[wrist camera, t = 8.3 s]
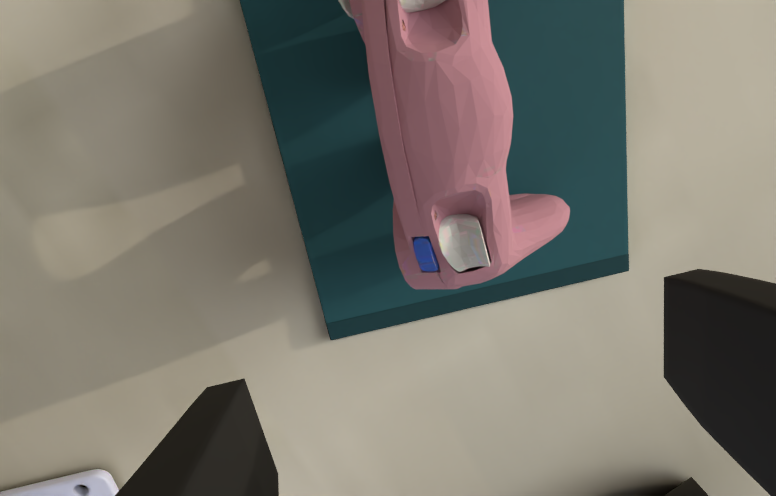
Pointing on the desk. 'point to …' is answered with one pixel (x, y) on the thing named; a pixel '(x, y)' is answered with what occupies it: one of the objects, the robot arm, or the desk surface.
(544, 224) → the video game controller
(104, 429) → the desk surface
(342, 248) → the teal board
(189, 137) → the desk surface
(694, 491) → the track light
